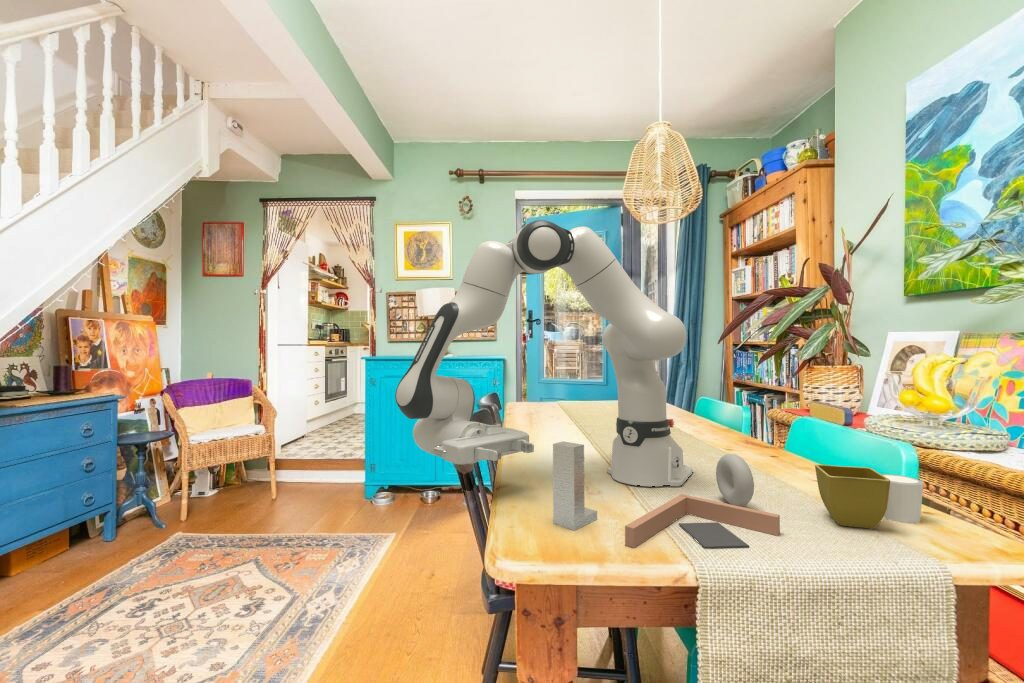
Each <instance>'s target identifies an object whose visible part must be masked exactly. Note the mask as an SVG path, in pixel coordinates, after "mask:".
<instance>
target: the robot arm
mask: <svg viewBox="0 0 1024 683" xmlns="http://www.w3.org/2000/svg"><path fill="white" fill-rule="evenodd" d="M557 267H558V268H560V269H562V270H563V271H564V272H565V273H566V274H567V275H568V276H569V278H570V279H571V281H572V283H573V284H574V285H575V287H576V288H577V289H578V291H579V292H580V294H581V296H583V298H584V299H585V301H586V302H587V304H588V306H590V308H591V309H592V310H593V312H594V313H595V314H597V315H598V316H600V317H601V318H604V319H605V320H606V321H607V322H609V324H608V325H607V326H606V327H605V328H604V330H603V333H602V345H603V347H604V349H605V351H606V352H607V353H608V355H609V357H610V361H611V364H612V367H613V371H614V375H615V380H616V386H617V387H616V388H617V408H618V409H617V411H618V412H617V413H618V414H617V415H618V416H617V418H616V423H615V427H616V430H615V431H616V432H615V433H617V436H616V437H615V438H614V439H613V441H612V448H611V449H612V450H611V462H610V464H611V465H610V466H608V467H607V470H606V472H607V474H609V475H611V478H612V479H613V480H614V481H616V482H619V483H622V484H626V485H632V486H637V485H640V486H639V487H652V486H655V487H664V486H663V485H670V486H669V487H680V486H679V485H682V484H683V483H684V482H685V481H686V480H687V479H688V480H689V478H690V477H691V476H692V475H693V474H692V472H693V471H694V468H693V467H691V466H688V465H684V453H683V448H682V447H681V446H680V444H678V443H677V441H676V440H675V439H674V438H673V437H672V436H671V434H672V431H671V428H674V426H675V420H674V419H673V418H667V387H666V385H665V383H664V382H663V380H662V379H661V378H660V375H659V373H658V371H657V368H656V365H655V362H658V361H659V362H660V361H663V360H667V359H670V358H672V357H675V356H678V354H680V353H681V352H682V351H683V350H684V348H685V345H686V343H687V338H688V337H687V335H688V334H687V329H686V327H685V324H684V322H683V321H682V320H681V319H680V318H679V317H678V316H676V315H673V314H671V313H670V312H668V311H665V309H663V308H661V307H660V306H659V305H658V304H656V303H655V302H654V301H652V299H650V297H648V295H646V294H645V293H644V292H643V291H642V290H641V289H640V288H639V287H638V286H637V285H636V284H635V283H634V281H633V280H632V278H631V277H630V275H628V273H627V272H626V271H625V269H624V268H623V266H622V265H621V263H620V262H619V260H618V259H617V258H616V256H615V254H614V253H613V252H612V250H611V249H610V247H608V245H607V244H606V243H605V242H604V241H603V239H601V237H600V236H599V235H598V234H597V233H596V232H594V230H593V229H591V228H590V227H588V226H577V227H574V228H571V229H570V230H569V229H566V228H564V227H562V226H560V225H558V224H557V223H555V222H552V221H549V220H543V219H538V220H533V221H531V222H529V223H527V224H526V225H524V226H523V227H522V228H521V229H519V230H518V231H517V232H516V234H515V235H514V237H513V238H512V239H511V240H510V241H509V242H507V243H503V242H500V241H497V240H487V241H483V242H482V243H480V244H479V245H478V246H477V247H476V248H475V251H474V252H473V254H472V256H471V258H470V260H469V262H468V265H467V267H466V268H465V271H464V274H463V278H462V280H461V282H460V285H459V289H458V290H457V292H456V294H455V295H454V296H453V297H452V299H451V300H450V301H449V302H448V303H446V304H443V305H442V306H441V307H440V308H439V309H438V311H437V313H436V314H435V316H434V318H433V320H432V321H431V324H430V326H429V327H428V330H427V332H426V334H425V336H424V338H423V340H422V342H421V343H420V346H419V348H418V349H417V352H416V354H415V356H414V357H413V360H412V362H411V364H410V366H409V367H408V369H407V370H406V371H405V373H404V374H403V376H402V378H401V379H400V381H399V382H398V385H397V387H396V389H395V396H394V398H395V402H396V406H397V407H398V409H399V411H400V412H401V413H402V415H404V416H405V417H406V418H408V419H409V420H417V421H416V422H415V424H414V426H413V428H412V436H413V440H414V442H415V444H416V445H417V447H418V448H420V449H421V450H422V451H424V452H426V453H428V454H431V455H434V456H436V457H440V458H442V460H444V461H446V462H449V463H451V464H455V465H474V464H476V463H478V462H480V461H494V462H495V461H496V462H497V461H501V460H502V457H504V456H508V455H512V454H516V453H517V454H518V453H521V452H522V453H525V454H531V453H534V452H535V444H534V443H532V442H530V435H529V433H527V432H526V431H523V430H518V429H514V428H511V427H504V426H502V424H500V423H496V422H495V423H493V422H489V423H487V422H486V423H485V422H479V421H472V417H473V415H474V411H475V407H476V406H475V404H476V395H475V391H474V388H473V387H472V384H471V383H470V382H469V381H468V380H467V379H464V378H458V377H453V376H444V375H439V374H437V371H438V369H439V368H440V365H441V363H442V361H443V359H444V357H445V355H446V354H447V353H446V352H447V351H448V349H449V347H450V345H451V343H452V342H453V341H454V340H455V339H456V338H458V337H459V336H461V335H463V334H465V333H469V332H473V331H479V330H484V329H486V328H489V327H491V326H492V325H494V324H496V322H498V321H499V320H500V318H501V317H502V315H503V313H504V311H505V309H506V305H507V302H508V298H509V296H510V292H511V289H512V286H513V285H514V282H515V280H516V278H517V277H518V276H519V275H527V276H528V275H539V274H543V273H544V274H545V273H546V272H548V271H549V270H552V269H555V268H557ZM693 473H694V472H693ZM691 474H692V475H691ZM690 475H691V476H690ZM689 476H690V477H689ZM688 477H689V478H688ZM688 480H687V481H688ZM687 481H686V482H687ZM686 482H685V483H686ZM685 483H684V484H685ZM684 484H683V485H684ZM683 485H682V486H683Z"/></svg>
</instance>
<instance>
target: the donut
mask: <svg viewBox="0 0 1024 683" xmlns="http://www.w3.org/2000/svg"><path fill="white" fill-rule="evenodd" d="M715 478H716V484H717V486H718V491H719V492H720V494H721V496H722V497H723V499H724V500H725V501H726V502H727V503H728V504H731V505H736V506H740V507H745V506H747V505H748V504H750V502H751V501H752V499H753V496H754V493H755V492H754V491H755V482H754V477H753V473H752V470H751V468H750V465H748V462H746V460H745V459H744V458H742V457H741V456H740V455H739V454H736V453H726V454H724V455H722V456H721V457H720V458H719V460H718V461H717V464H716V469H715Z"/></svg>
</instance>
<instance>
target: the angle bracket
mask: <svg viewBox="0 0 1024 683" xmlns="http://www.w3.org/2000/svg"><path fill="white" fill-rule="evenodd" d="M552 481H553V482H552V483H553V484H552V485H553V486H552V487H553V488H552V490H553V493H552V496H553V497H552V500H553V503H552V504H553V505H552V506H553V511H552V512H553V525H556V526H559V527H562V528H566V529H568V530H572V531H577V530H579V529H580V528H583V527H585V526H587V525H588V524H591V523H593V522H595V521H597V520H598V510H595V509H591V508H588V507H585V445H584V444H583V443H582V444H581V443H576V442H569V441H558V442H556V443H555V442H554V443H552Z"/></svg>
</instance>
